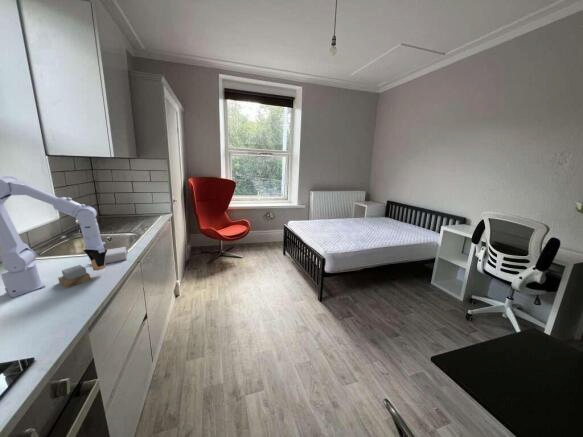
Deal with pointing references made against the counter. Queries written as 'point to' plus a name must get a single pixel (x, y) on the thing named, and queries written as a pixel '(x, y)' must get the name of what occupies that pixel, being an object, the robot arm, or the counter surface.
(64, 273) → the upper block
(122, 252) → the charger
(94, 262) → the cylinder
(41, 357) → the counter surface
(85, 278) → the base slab
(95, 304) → the counter surface
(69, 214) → the robot arm
